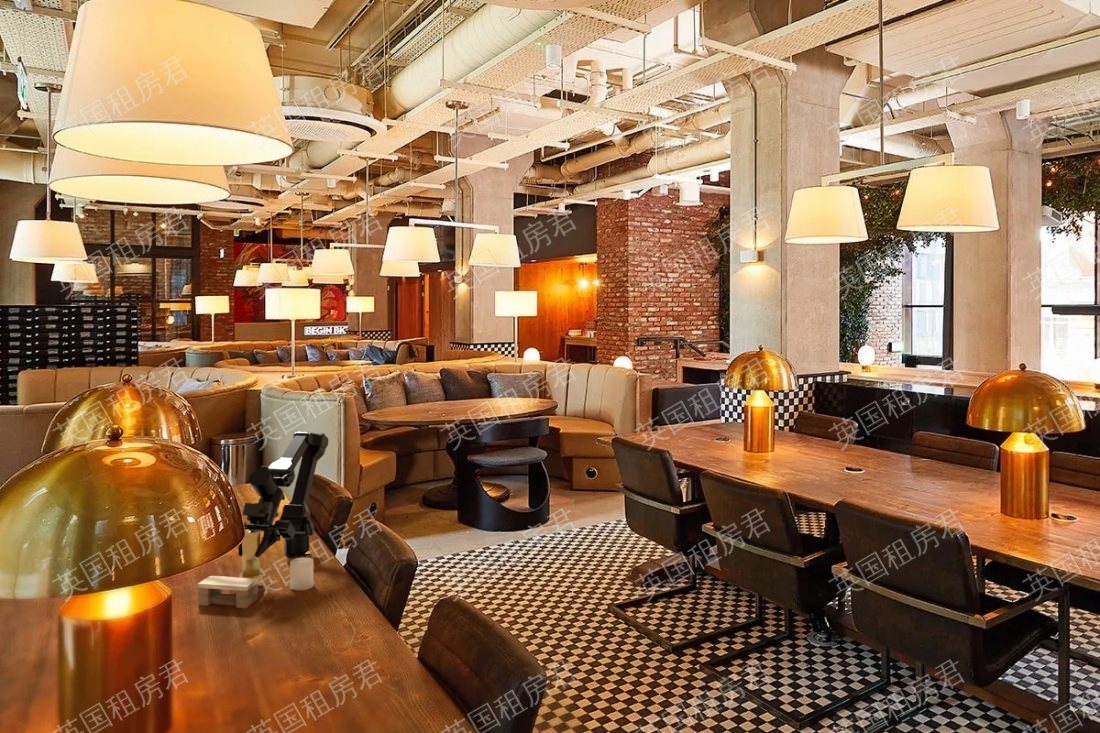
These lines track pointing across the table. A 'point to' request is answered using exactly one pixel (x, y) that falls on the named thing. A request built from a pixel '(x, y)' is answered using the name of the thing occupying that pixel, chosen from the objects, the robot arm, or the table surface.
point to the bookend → (251, 555)
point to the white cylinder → (301, 573)
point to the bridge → (214, 584)
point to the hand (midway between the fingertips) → (248, 556)
